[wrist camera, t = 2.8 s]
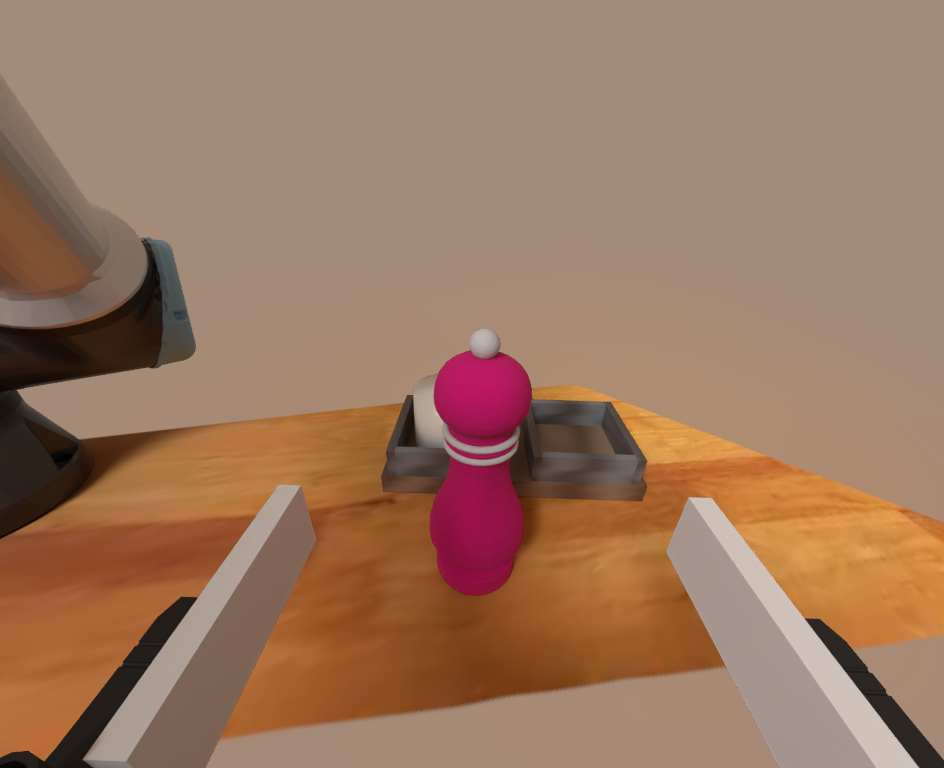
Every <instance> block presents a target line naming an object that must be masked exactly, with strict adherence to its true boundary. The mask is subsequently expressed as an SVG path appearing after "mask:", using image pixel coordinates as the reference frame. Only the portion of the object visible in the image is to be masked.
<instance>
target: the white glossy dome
mask: <svg viewBox="0 0 944 768" xmlns="http://www.w3.org/2000/svg"><path fill="white" fill-rule="evenodd" d="M437 376H438V374H436V375H431V376H428V377H425V378H423V379H421V380H420V381H418V382H417V383H416V384H415V385H414V388H413V400H414V419H415V438H416V447H423V448H444V445H443V430H442V427H443V423H444V422H443V420H442V419H441V418H440V416H439V414H438V412H437V411H436V408H435V405H434V385H435V381H436V378H437Z"/></svg>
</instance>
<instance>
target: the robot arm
mask: <svg viewBox="0 0 944 768" xmlns="http://www.w3.org/2000/svg"><path fill="white" fill-rule="evenodd" d="M195 349H196V344H195V340H194V335H193V332H192V327H191V323H190V319H189V316H188V312H187V307H186V303H185V300H184V295H183V292H182V287H181V283H180V280H179V276H178V272H177V268H176V264H175V259H174V255H173V252H172V249H171V247H170V245H169V244H168V243H166V242H165V241H162V240H153V239H151V238H141V239H140V238H139V237H138V235H137V234H136V233H135V231H134V230H133V229H132V228H131V227H130V226H129V225H128V224H127V223H126V222H125V221H123V220H122V219H120V218H119V217H118V216H116V215H114V214H113V213H111V212H110V211H108V210H106V209H104V208H102V207H100V206H98V205H95V204H92V203H90V202H88V201H87V199H86V198H85V196H84V195H83V194H82V192H81V191H80V189H79V188H78V187H77V185H76V183H75V182H74V180H73V179H72V178H71V176H70V175H69V173H68V172H67V170H66V169H65V167H64V166H63V164H62V163H61V162H60V160H59V159H58V157H57V156H56V155H55V153H54V151H53V150H52V148H51V147H50V146H49V144H48V143H47V141H46V140H45V138H44V137H43V135H42V134H41V133H40V131H39V130H38V128H37V127H36V125H35V124H34V122H33V121H32V119H31V118H30V116H29V115H28V113H27V112H26V111H25V109H24V108H23V106H22V105H21V103H20V102H19V100H18V99H17V97H16V96H15V95H14V93H13V92H12V90H11V89H10V87H9V86H8V84H7V83H6V82H5V80H4V79H3V77H2V76H1V74H0V536H2V535H5V534H7V533H9V532H11V531H13V530H15V529H17V528H18V527H20V526H22V525H24V524H26V523H28V522H30V521H31V520H33V519H35V518H37V517H38V516H40V515H42V514H43V513H45V512H46V511H48V510H50V509H51V508H53V507H54V506H56V505H57V504H58V503H60V502H61V501H62V500H64V499H65V498H66V497H68V496H69V495H70V494H71V493H72V492H74V491H75V490H76V489H77V488H78V487H79V486H80V485H81V484H82V483H83V482H84V480H85V479H86V478H87V477H88V475H89V473H90V472H91V469H92V466H93V460H92V458H91V456H90V455H89V453H88V451H87V450H86V448H85V447H84V445H83V444H82V443H81V441H80V440H79V439H77V438H76V437H75V436H73V435H72V434H70V433H68V432H67V431H66V430H64V429H63V428H61V427H60V426H58V425H57V424H55V423H54V422H52V421H51V420H49V419H48V418H46V417H45V416H43V415H42V414H41V413H39V412H37V411H36V410H35V409H33V408H32V407H30V406H29V405H28V404H27V403H25V401H24V400H23V399H22V397H21V396H20V394H19V393H18V391H17V389H23V388H27V387H34V386H39V385H46V384H51V383H58V382H63V381H69V380H75V379H81V378H87V377H93V376H99V375H105V374H111V373H117V372H123V371H129V370H135V369H141V368H147V367H149V368H158V367H160V366H161V365H164V364H168V363H173V362H177V361H183V360H186V359H188V358H190V357H191V356H192V355H193V354H194V352H195ZM315 542H316V537H315V533H314V530H313V526H312V523H311V519H310V516H309V512H308V508H307V505H306V501H305V498H304V494H303V491H302V487H301V485H278V486H277V488H276V489H275V491H274V492H273V493H272V495H271V496H270V498H269V499H268V500H267V502H266V503H265V505H264V506H263V507H262V509H261V510H260V512H259V513H258V514H257V516H256V517H255V519H254V520H253V521H252V523H251V524H250V526H249V527H248V528H247V530H246V531H245V533H244V534H243V535H242V537H241V538H240V540H239V541H238V542H237V544H236V545H235V547H234V548H233V549H232V551H231V552H230V554H229V555H228V556H227V558H226V559H225V561H224V562H223V563H222V565H221V566H220V568H219V569H218V570H217V572H216V573H215V575H214V576H213V577H212V579H211V580H210V582H209V583H208V585H207V586H206V587H205V589H204V590H203V592H202V593H201V594H200V596H199V597H181V598H179V599H178V600H177V601H176V602H175V603H174V604H172V605H171V606H170V607H169V608H168V609H167V610H165V611H164V612H163V613H162V614H161V615H160V616H158V617H157V619H156V620H155V621H154V623H153V624H152V625H151V626H150V628H149V629H148V630H147V632H146V633H145V634H144V635H143V637H142V638H141V639H140V641H139V644H138V645H137V646H135V647H134V648H133V650H132V651H131V652H130V653H129V655H128V656H127V657H126V659H125V660H124V661H123V665H122V666H121V667H119V668H118V669H117V670H116V671H115V673H114V674H113V675H112V677H111V678H110V679H109V680H108V682H107V683H106V684H105V686H104V687H103V688H102V689H101V691H100V692H99V693H98V695H97V696H96V697H95V698H94V700H93V701H92V702H91V704H90V705H89V706H88V708H87V709H86V710H85V711H84V713H83V714H82V715H81V717H80V718H79V719H78V720H77V722H76V723H75V724H74V726H73V727H72V728H71V729H70V731H69V732H68V733H67V735H66V736H65V737H64V738H63V740H62V741H61V742H60V744H59V745H58V746H57V747H56V749H55V750H54V751H53V752H52V753H51V754H50V756H49V757H48V758H47V759H46V760H45V761H42V760H41V759H39V758H38V757H37V756H35V755H34V754H32V753H31V752H29V751H22V752H12V753H10V754H8V755H5V756H3V757H1V758H0V768H206V766H207V764H208V762H209V759H210V757H211V755H212V753H213V751H214V749H215V747H216V745H217V743H218V741H219V739H220V737H221V735H222V733H223V731H224V729H225V727H226V725H227V723H228V720H229V718H230V716H231V714H232V712H233V710H234V708H235V706H236V704H237V702H238V700H239V698H240V696H241V694H242V692H243V690H244V688H245V686H246V683H247V681H248V679H249V677H250V675H251V673H252V671H253V669H254V667H255V665H256V663H257V661H258V659H259V657H260V655H261V653H262V651H263V649H264V647H265V644H266V642H267V640H268V638H269V636H270V634H271V632H272V630H273V628H274V626H275V624H276V622H277V620H278V618H279V616H280V614H281V612H282V610H283V607H284V605H285V603H286V601H287V599H288V597H289V595H290V593H291V591H292V589H293V587H294V585H295V583H296V581H297V579H298V577H299V575H300V573H301V571H302V568H303V566H304V564H305V562H306V560H307V558H308V556H309V554H310V552H311V550H312V548H313V546H314V544H315ZM666 553H667V554H668V556H669V558H670V560H671V562H672V564H673V566H674V568H675V570H676V572H677V574H678V576H679V577H680V579H681V581H682V583H683V585H684V587H685V589H686V591H687V593H688V595H689V597H690V598H691V600H692V602H693V604H694V606H695V608H696V610H697V612H698V614H699V616H700V618H701V620H702V621H703V623H704V625H705V627H706V629H707V631H708V633H709V635H710V637H711V639H712V641H713V642H714V644H715V646H716V648H717V650H718V652H719V654H720V656H721V658H722V660H723V662H724V664H725V665H726V667H727V669H728V671H729V673H730V675H731V677H732V679H733V681H734V683H735V685H736V686H737V688H738V690H739V692H740V694H741V696H742V698H743V699H744V702H745V704H746V706H747V708H748V709H749V711H750V713H751V715H752V717H753V719H754V721H755V722H756V725H757V726H758V729H759V730H760V732H761V734H762V736H763V738H764V740H765V742H766V744H767V746H768V748H769V750H770V751H771V753H772V755H773V757H774V759H775V761H776V763H777V765H778V767H779V768H944V760H943V759H942V758H941V756H940V755H939V754H938V753H937V752H936V750H935V749H934V748H933V747H932V745H931V744H930V743H929V742H928V741H927V739H926V738H925V737H924V736H923V735H922V733H921V732H920V731H919V730H918V728H917V727H916V726H915V725H914V724H913V722H912V721H911V720H910V719H909V717H908V716H907V715H906V714H905V713H904V712H903V710H902V709H901V708H900V707H899V706H898V704H897V703H896V702H895V700H894V699H893V698H892V697H891V696H888V695H887V693H886V690H885V688H884V687H883V686H882V685H881V683H880V682H879V681H878V680H877V679H876V677H875V676H874V675H873V674H872V673H870V672H869V671H868V668H867V666H866V665H865V664H864V663H863V662H862V660H861V659H860V658H859V657H858V656H857V654H856V653H855V652H854V651H853V649H852V648H851V647H850V646H849V645H848V643H847V642H846V641H845V640H844V639H842V638H841V637H840V636H839V635H838V634H837V633H835V632H834V631H833V630H832V629H831V628H830V627H828V626H827V625H826V624H825V623H824V622H823V621H821V620H820V619H806V618H803V616H802V615H801V614H800V612H799V611H798V610H797V608H796V607H795V606H794V605H793V603H792V602H791V601H790V599H789V598H788V597H787V595H786V594H785V593H784V592H783V590H782V589H781V588H780V586H779V585H778V584H777V582H776V581H775V580H774V579H773V577H772V576H771V575H770V573H769V572H768V571H767V569H766V568H765V567H764V566H763V564H762V563H761V562H760V560H759V559H758V558H757V556H756V555H755V554H754V553H753V551H752V550H751V549H750V547H749V546H748V545H747V543H746V542H745V541H744V540H743V538H742V537H741V536H740V534H739V533H738V532H737V530H736V529H735V528H734V527H733V525H732V524H731V523H730V521H729V520H728V519H727V517H726V516H725V515H724V514H723V512H722V511H721V510H720V508H719V507H718V506H717V504H716V503H715V502H714V501H713V499H712V498H691V497H689V498H688V500H687V503H686V505H685V507H684V510H683V512H682V515H681V517H680V519H679V522H678V524H677V527H676V529H675V531H674V534H673V536H672V539H671V541H670V543H669V546H668V548H667V550H666Z"/></svg>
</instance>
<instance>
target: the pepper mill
mask: <svg viewBox="0 0 944 768" xmlns="http://www.w3.org/2000/svg"><path fill="white" fill-rule="evenodd" d="M469 345H470V351H467V352H464V353H461V354H459V355H456V356H454V357H453V358H452V359H450V360H449V361H447V362H446V363H445V365H444V366H443V367H442V369H441V370H440V371H439V373H438V376H437V378H436V381H435V385H434V405H435V408H436V411H437V412H438V414H439V416H440V418H441V419H442V420H443V422H444V423H443V427H442V430H443V445H444V448H445V450H446V451H447V453H448V454H449V455H450V463H449V471H448V474H447V477H446V479H445V481H444V483H443V485H442V487H441V488H440V490H439V492H438V494H437V495H436V498H435V500H434V503H433V507H432V510H431V514H430V534H431V538H432V542H433V544H434V546H435V547H436V549H437V562H438V568H439V571H440V573H441V575H442V577H443V579H444V580H445V581H446V582H447V583H448V584H449V585H450V586H451V587H452V588H453V589H455V590H457V591H459V592H461V593H464V594H467V595H484V594H488V593H491V592H493V591H495V590H497V589H498V588H500V587H501V586H502V585H503V584H504V583H505V582H506V581H507V579H508V578H509V576H510V573H511V571H512V567H513V560H514V554H515V553H516V552H517V550H518V549H519V547H520V545H521V542H522V538H523V532H524V516H523V511H522V507H521V503H520V500H519V498H518V496H517V494H516V492H515V490H514V487H513V485H512V482H511V478H510V472H509V461H510V458H511V457H512V456H513V455H514V453H515V452H516V450H517V448H518V443H519V441H518V438H519V434H520V428H519V425H520V424H521V423H522V422H523V421H524V419H525V418H526V417H527V415H528V413H529V410H530V405H531V401H532V388H531V384H530V380H529V377H528V375H527V373H526V371H525V370H524V368H523V367H522V366H521V365H520V364H519V363H518V362H517V361H516V360H515V359H513V358H512V357H510V356H508V355H506V354H503V353H501V352H499V349H500V339H499V337H498V336H497V334H496V333H495V332H494V331H492V330H490V329H486V328H485V329H480V330H478V331H476V332H474V333H473V335H472V336H471V338H470V342H469Z"/></svg>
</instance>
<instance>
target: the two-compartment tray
mask: <svg viewBox="0 0 944 768" xmlns="http://www.w3.org/2000/svg"><path fill="white" fill-rule="evenodd" d="M519 428H520V434H519V438H518V441H519V443H518V448H517V450H516V452H515V453H514V455H513V456H512V457H511V458H510V461H509V472H510V478H511V482H512V485H513V487H514V490H515V492H516V494H517V496H518V497H543V498H570V499H597V500H624V501H642V499H643V497H644V494H645V491H646V488H647V485H646V483H645V482H644V480H643V478H642V475H643V472H644V469H645V466H646V463H647V460H646V458H645V457H644V455H643V453H642V452H641V450H640V449H639V447H638V445H637V444H636V442H635V440H634V439H633V437H632V436H631V434H630V432H629V431H628V429H627V428H626V426H625V424H624V423H623V421H622V419H621V418H620V416H619V415H618V413H617V411H616V410H615V408H614V407H613V405H612V403H611V402H594V401H565V400H535V399H532V401H531V405H530V410H529V413H528V415H527V417H526V418H525V419H524V421H523V422H522V423H521V424H520V425H519ZM386 456H387V462H386V465H385V468H384V470H383V473H382V476H381V479H382V486H383V492H408V493H435V494H438V492H439V490H440V488H441V487H442V485H443V483H444V481H445V479H446V477H447V474H448V471H449V463H450V455H449V454H448V453H447V451H446V450H445V448H423V447H416V438H415V419H414V400H413V395H407V397H406V400H405V402H404V405H403V408H402V410H401V413H400V416H399V418H398V421H397V424H396V426H395V429H394V432H393V434H392V437H391V440H390V442H389V445H388V448H387V450H386Z"/></svg>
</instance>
